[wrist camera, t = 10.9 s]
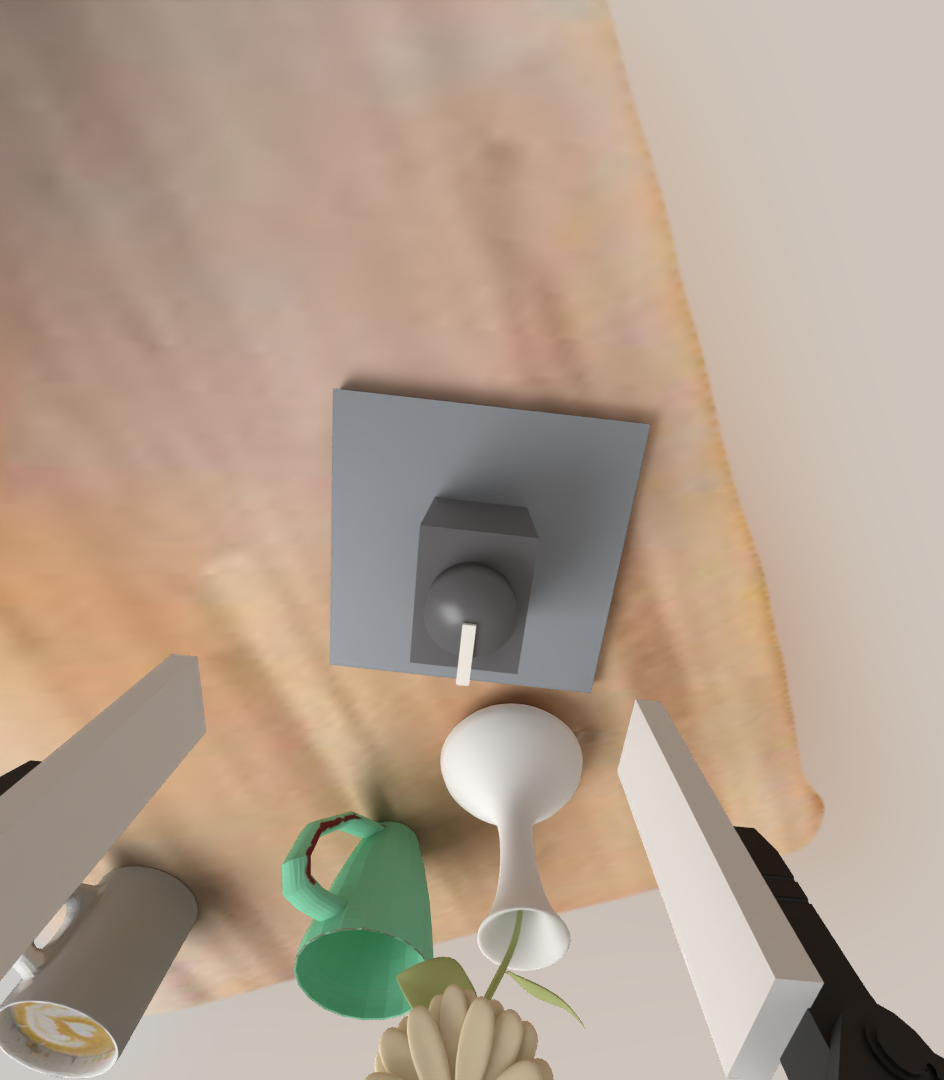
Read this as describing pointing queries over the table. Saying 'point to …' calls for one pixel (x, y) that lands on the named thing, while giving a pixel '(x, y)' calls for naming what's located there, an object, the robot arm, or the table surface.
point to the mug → (361, 918)
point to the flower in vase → (516, 915)
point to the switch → (490, 477)
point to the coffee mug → (96, 973)
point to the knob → (473, 586)
